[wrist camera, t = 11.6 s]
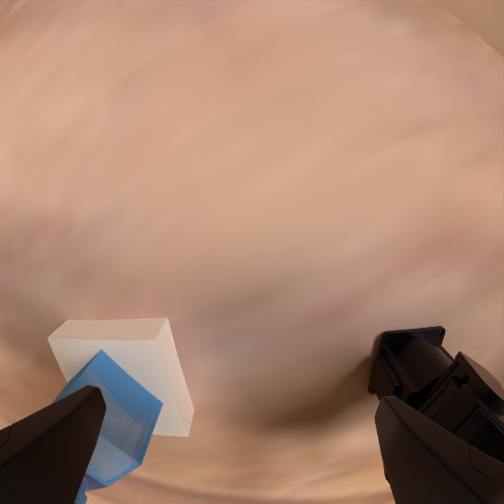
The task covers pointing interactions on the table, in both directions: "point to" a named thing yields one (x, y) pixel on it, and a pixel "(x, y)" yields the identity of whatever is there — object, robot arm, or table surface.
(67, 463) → the robot arm
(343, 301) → the table surface
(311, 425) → the table surface
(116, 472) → the perfume bottle
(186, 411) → the cream block
